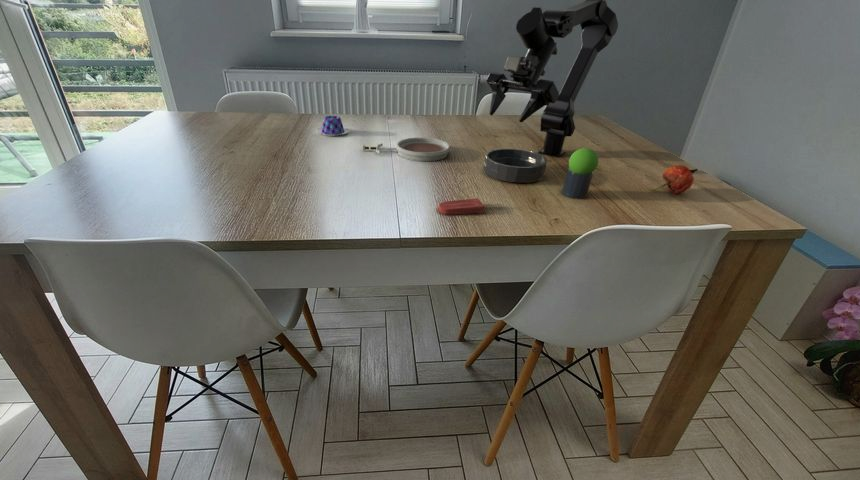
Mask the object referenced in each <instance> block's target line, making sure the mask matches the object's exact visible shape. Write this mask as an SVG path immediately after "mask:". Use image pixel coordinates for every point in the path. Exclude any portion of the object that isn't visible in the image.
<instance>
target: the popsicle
mask: <svg viewBox="0 0 860 480" xmlns="http://www.w3.org/2000/svg"><path fill="white" fill-rule="evenodd" d="M501 205H502V202H492V203H491V202H490V203H483V202H482V201H481V200H480V199H479V198H466V199H458V200H447V201H441V202H440V203H439V204H438V212H439V213H441V214H442V215H448V216H450V215H451V216H452V215H468V214H483V213H485V208H486V207H494V206H495V207H496V206H501Z"/></svg>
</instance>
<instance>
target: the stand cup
mask: <svg viewBox="0 0 860 480" xmlns="http://www.w3.org/2000/svg"><path fill="white" fill-rule="evenodd" d="M594 174H595V173H594V171H593V172H592V173H590V174H578V173H574V172H572V171H571V170H570V168H569V167H568V168H567V170H566V174H565V178H564V182H563V186H562V188H561V189H562V190H561V194H562V195H563V196H565V197H568V198H571V199H576V200H577V199H578V200H581V199H585V198H586V197H587V195H588V193H589V190H590V186H591V183H592V181H593V177H594Z"/></svg>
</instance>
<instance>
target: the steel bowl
mask: <svg viewBox="0 0 860 480" xmlns="http://www.w3.org/2000/svg"><path fill="white" fill-rule="evenodd" d="M547 163H548V159H547V158H546V157H545V156H543V154H542V155H541V153H537V152H533V151H531V150H525V149H519V148H495V149H492V150H489V151H487V152H486V153H485V156H484V162H483V168H482V169H483V172H484V174H486V175H487V176H488V177H491V178H494V179H496V180H498V181H499V180H500V181H503V182H510V183H525V184H526V183H533V182H538V181H540V180H542V179H543V178H544V176H545V172H546V168H547Z"/></svg>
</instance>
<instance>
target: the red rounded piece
mask: <svg viewBox="0 0 860 480" xmlns="http://www.w3.org/2000/svg"><path fill="white" fill-rule="evenodd" d="M696 172H698V168H694V169H690V168H689V167H688V166H687V165H684V164H683V165H682V164H674V165H671V166H669V167H668V168H666V169H665V170H664V171H663V173H662V179H663V181H664V182H665V183H664V184H663V185H661V186H659V187H656V188H654V189H653V190H652V191H657V190H659V189H661V188H663V187H666V189H667V190H668V191H669V192H671V194H673V195H681V194H683V193H685V192H687V191H688V190H690V189H691V187H692V185H693V184H694V179H695V178H694V176H693V175H694V173H696Z"/></svg>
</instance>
